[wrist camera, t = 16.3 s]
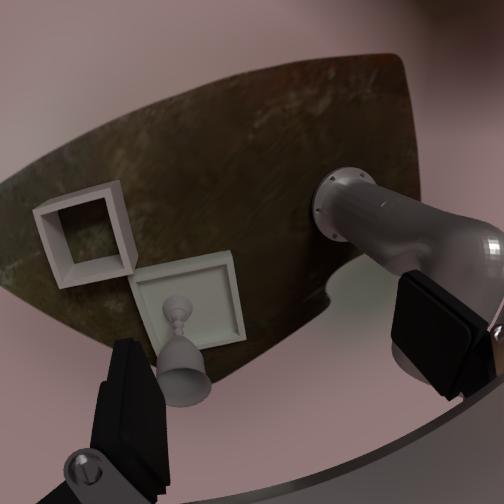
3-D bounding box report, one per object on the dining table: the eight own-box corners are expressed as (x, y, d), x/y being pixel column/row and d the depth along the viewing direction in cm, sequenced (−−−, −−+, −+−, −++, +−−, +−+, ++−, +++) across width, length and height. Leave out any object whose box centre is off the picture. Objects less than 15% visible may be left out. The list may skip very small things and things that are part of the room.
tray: (229, 249, 48) (232, 256, 46) (243, 331, 54) (246, 339, 52) (129, 270, 45) (127, 277, 43) (157, 348, 52) (157, 357, 50)
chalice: (177, 332, 51) (183, 414, 34) (147, 309, 48) (139, 390, 32) (207, 306, 50) (224, 385, 34) (177, 280, 47) (180, 357, 31)
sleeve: (119, 179, 40) (110, 187, 35) (138, 256, 45) (133, 273, 40) (48, 199, 38) (32, 210, 33) (71, 270, 43) (59, 289, 38)
